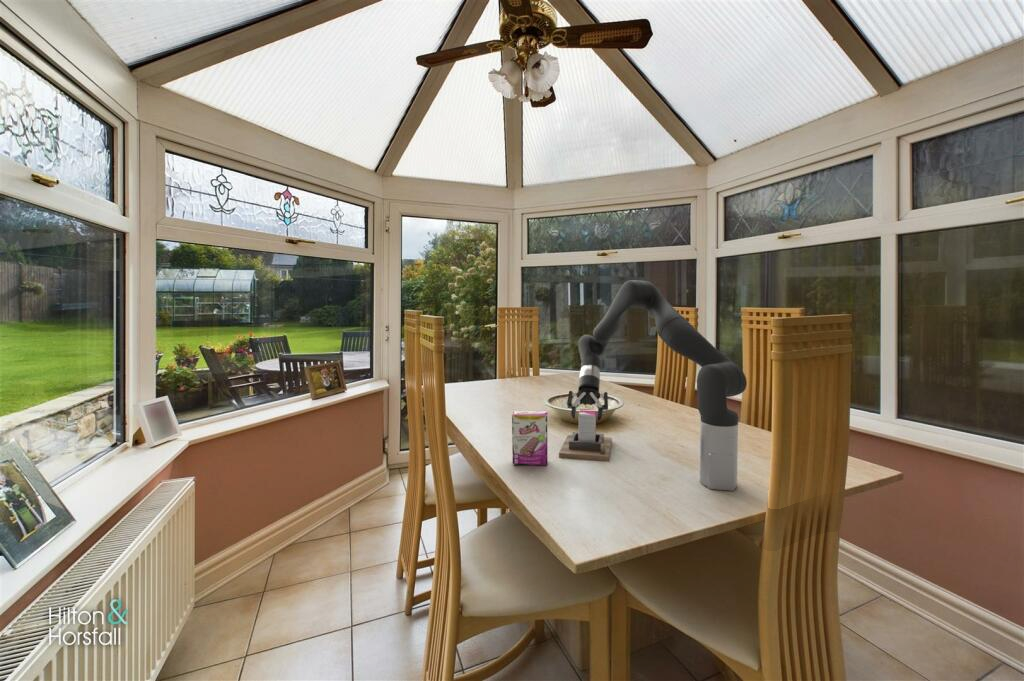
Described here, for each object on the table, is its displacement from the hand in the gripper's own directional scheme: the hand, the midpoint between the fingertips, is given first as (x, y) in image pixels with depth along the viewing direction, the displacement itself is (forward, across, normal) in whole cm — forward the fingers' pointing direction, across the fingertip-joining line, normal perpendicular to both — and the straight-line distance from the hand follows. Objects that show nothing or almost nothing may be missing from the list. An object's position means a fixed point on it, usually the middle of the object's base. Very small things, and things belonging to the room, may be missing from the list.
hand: (586, 418), depth 149 cm
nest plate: (+8, 0, +7) cm, 11 cm away
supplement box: (+7, 0, +6) cm, 9 cm away
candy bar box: (+20, -16, -5) cm, 26 cm away
